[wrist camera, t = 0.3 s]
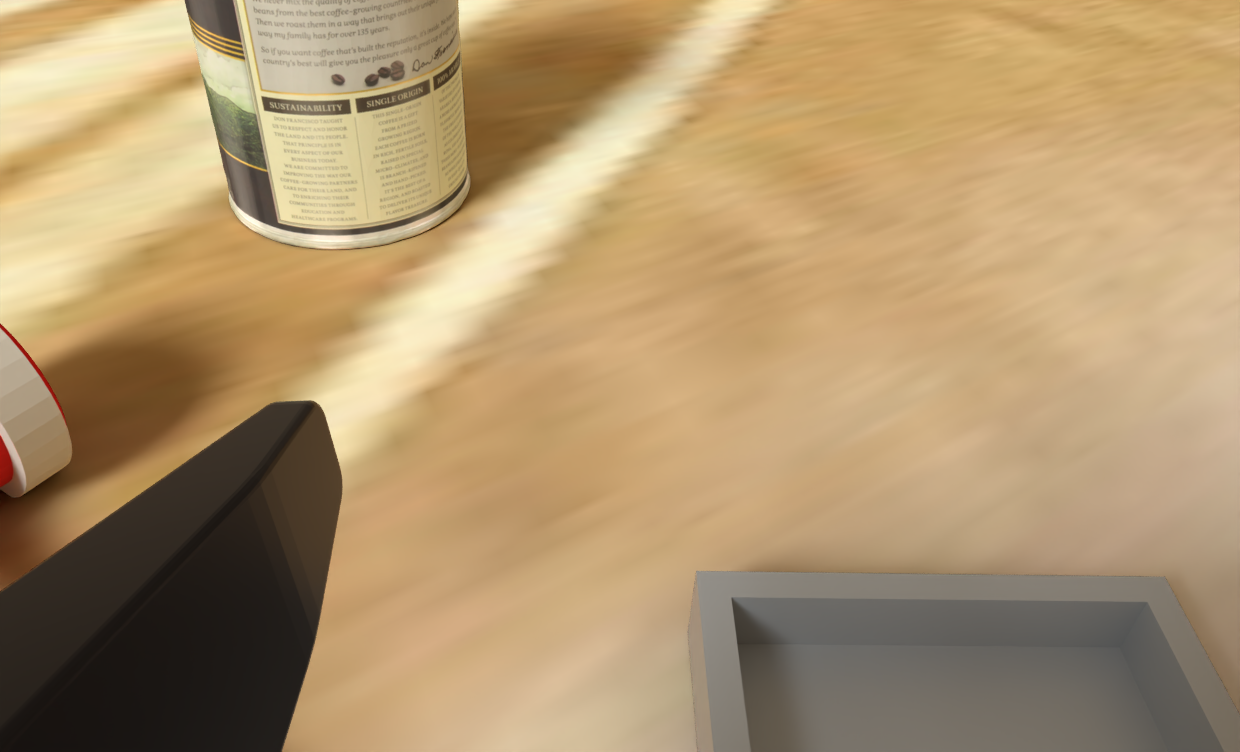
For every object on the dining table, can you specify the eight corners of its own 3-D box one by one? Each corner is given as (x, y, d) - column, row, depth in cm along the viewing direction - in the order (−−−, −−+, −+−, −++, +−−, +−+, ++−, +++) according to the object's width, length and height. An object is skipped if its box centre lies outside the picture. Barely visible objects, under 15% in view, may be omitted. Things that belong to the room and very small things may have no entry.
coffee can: (175, 217, 42) (70, -163, 33) (320, 117, 49) (268, -215, 40) (393, 277, 39) (344, -118, 30) (512, 162, 47) (502, -182, 38)
